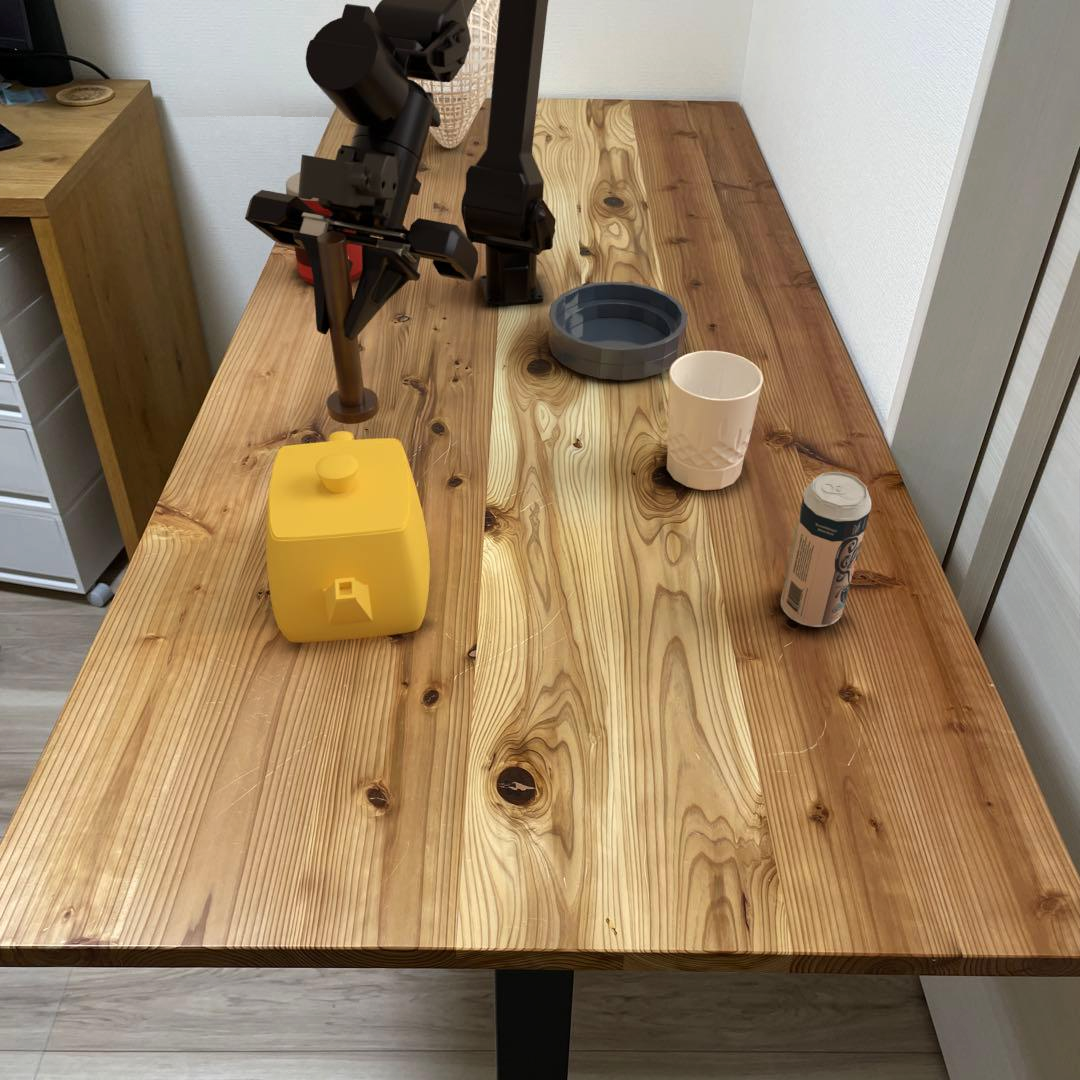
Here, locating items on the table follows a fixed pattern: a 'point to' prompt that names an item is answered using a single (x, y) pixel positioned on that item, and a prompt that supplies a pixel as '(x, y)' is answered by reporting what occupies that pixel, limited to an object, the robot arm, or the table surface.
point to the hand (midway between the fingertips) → (334, 335)
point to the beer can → (825, 548)
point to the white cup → (710, 417)
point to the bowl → (617, 330)
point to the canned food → (301, 254)
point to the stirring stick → (351, 395)
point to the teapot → (345, 541)
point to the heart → (467, 78)
